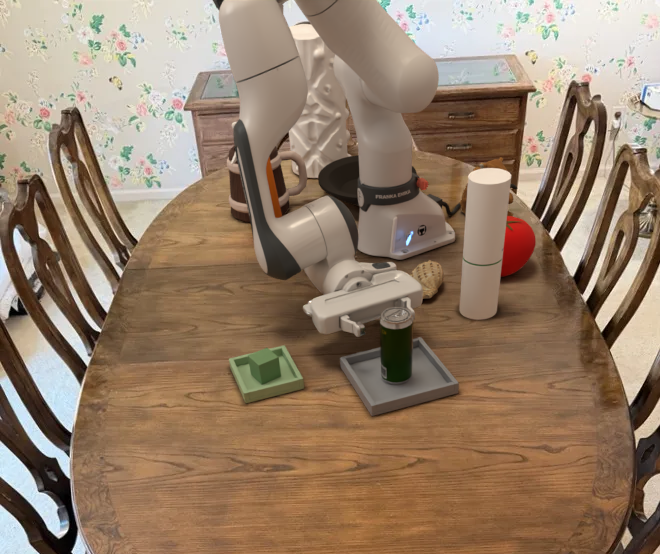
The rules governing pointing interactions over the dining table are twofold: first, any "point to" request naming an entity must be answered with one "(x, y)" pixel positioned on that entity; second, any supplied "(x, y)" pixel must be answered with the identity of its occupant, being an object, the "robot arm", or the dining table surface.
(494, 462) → the dining table surface
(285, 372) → the sage tray
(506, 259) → the tomato
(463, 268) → the cylindrical container
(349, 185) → the plate
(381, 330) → the beer can
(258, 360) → the green block
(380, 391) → the steel tray
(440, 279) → the seashell
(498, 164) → the stuffed squirrel
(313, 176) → the vase
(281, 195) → the mug
